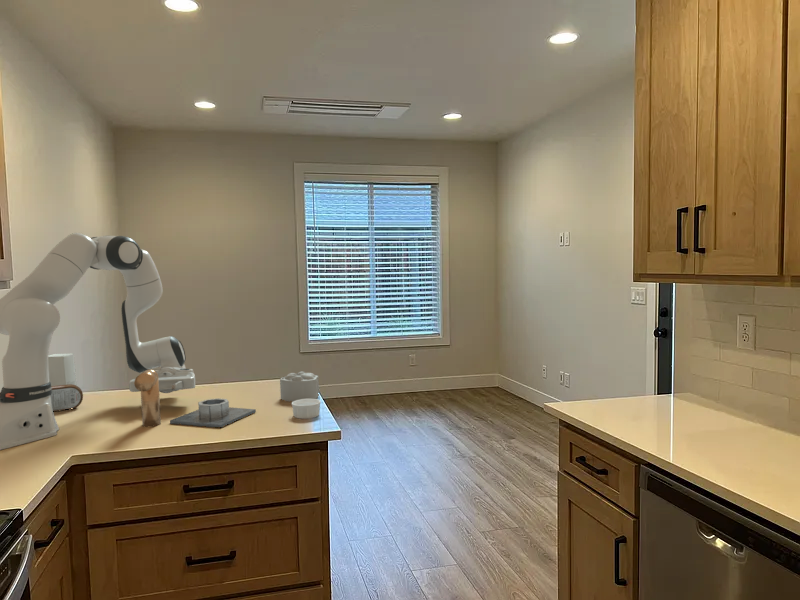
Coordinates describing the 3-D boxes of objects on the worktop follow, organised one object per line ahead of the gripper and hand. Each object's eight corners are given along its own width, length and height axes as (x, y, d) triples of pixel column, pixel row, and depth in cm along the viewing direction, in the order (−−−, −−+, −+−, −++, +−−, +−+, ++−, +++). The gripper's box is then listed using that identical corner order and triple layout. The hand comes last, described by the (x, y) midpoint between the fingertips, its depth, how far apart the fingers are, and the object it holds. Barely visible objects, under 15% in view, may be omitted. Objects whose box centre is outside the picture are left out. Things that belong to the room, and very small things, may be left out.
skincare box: (78, 394, 217) (75, 353, 216) (66, 399, 211) (63, 356, 210) (56, 394, 218) (54, 353, 217) (44, 399, 212) (41, 356, 211)
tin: (83, 406, 199) (82, 382, 199) (84, 408, 197) (82, 383, 196) (31, 413, 191) (29, 388, 191) (31, 415, 189) (29, 389, 188)
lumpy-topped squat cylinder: (315, 401, 199) (314, 376, 199) (277, 402, 200) (276, 377, 199) (320, 394, 210) (319, 370, 209) (284, 395, 210) (283, 371, 209)
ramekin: (315, 420, 176) (314, 405, 176) (287, 419, 178) (287, 405, 178) (324, 412, 185) (324, 398, 185) (298, 411, 187) (297, 398, 187)
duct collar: (220, 428, 169) (220, 411, 169) (170, 423, 175) (169, 407, 175) (255, 412, 186) (255, 396, 186) (208, 408, 192) (207, 393, 192)
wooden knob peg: (144, 422, 177) (142, 368, 176) (162, 421, 178) (159, 367, 177) (136, 431, 168) (133, 374, 167) (155, 430, 169) (152, 373, 167)
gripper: (134, 372, 197) (122, 380, 184) (197, 368, 201) (191, 376, 187) (135, 390, 198) (123, 400, 184) (198, 386, 201) (192, 395, 188)
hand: (158, 388), depth 186 cm, fingers open, 8 cm apart
